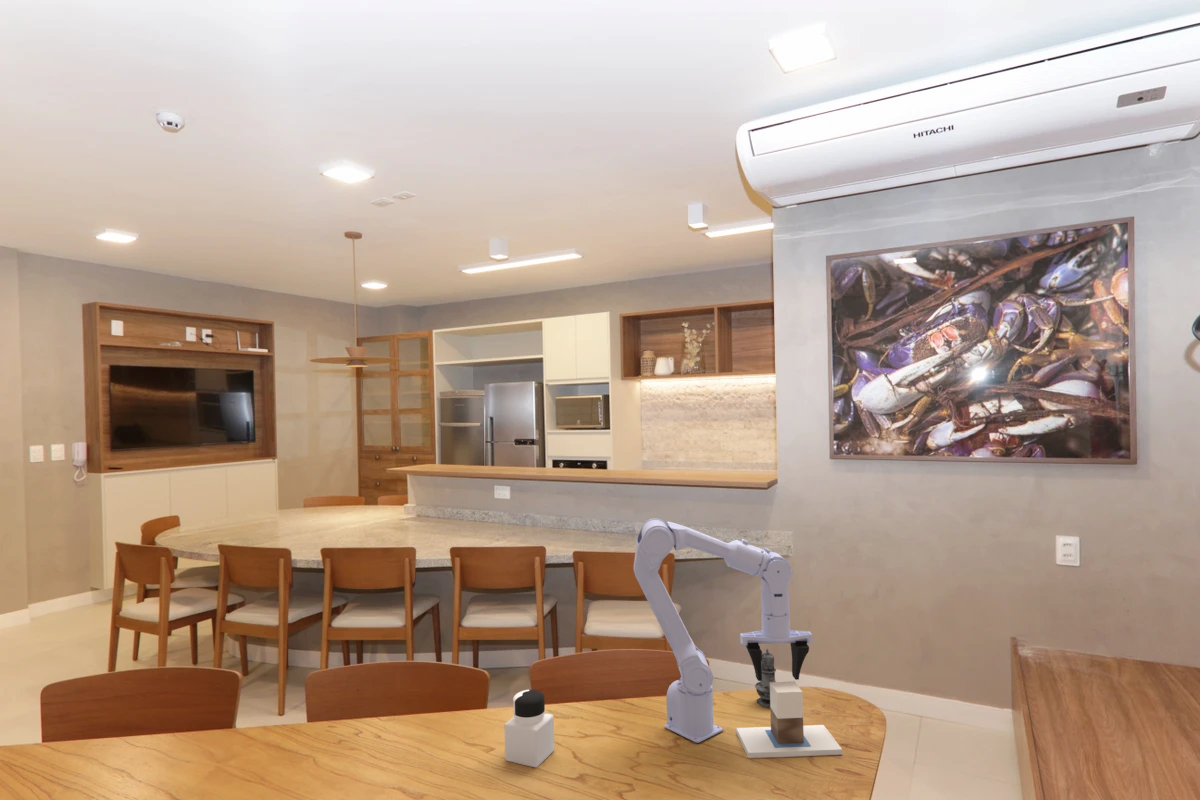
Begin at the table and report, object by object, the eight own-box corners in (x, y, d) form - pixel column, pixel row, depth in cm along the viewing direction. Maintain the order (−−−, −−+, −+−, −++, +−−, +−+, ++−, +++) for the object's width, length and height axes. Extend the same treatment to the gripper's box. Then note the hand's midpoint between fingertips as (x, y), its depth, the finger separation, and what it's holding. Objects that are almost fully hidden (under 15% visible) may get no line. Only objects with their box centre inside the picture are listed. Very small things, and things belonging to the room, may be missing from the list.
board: (748, 758, 128) (748, 752, 128) (736, 732, 138) (736, 727, 138) (842, 754, 129) (842, 748, 129) (823, 729, 139) (823, 724, 139)
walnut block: (778, 743, 131) (777, 717, 131) (771, 731, 136) (770, 706, 136) (803, 743, 131) (803, 717, 131) (795, 730, 136) (795, 705, 136)
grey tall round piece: (785, 708, 149) (783, 653, 149) (758, 708, 149) (756, 653, 149) (778, 696, 155) (777, 644, 155) (752, 697, 155) (751, 644, 155)
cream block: (777, 718, 131) (776, 692, 131) (770, 707, 136) (769, 682, 136) (803, 717, 131) (802, 691, 131) (795, 706, 136) (794, 681, 136)
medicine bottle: (555, 750, 133) (553, 689, 133) (536, 768, 126) (535, 704, 126) (523, 744, 136) (522, 683, 136) (504, 761, 129) (503, 698, 129)
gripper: (803, 605, 144) (805, 669, 144) (736, 607, 143) (737, 672, 143) (815, 615, 137) (817, 683, 137) (744, 617, 136) (745, 685, 136)
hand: (777, 678), depth 139 cm, fingers open, 7 cm apart
